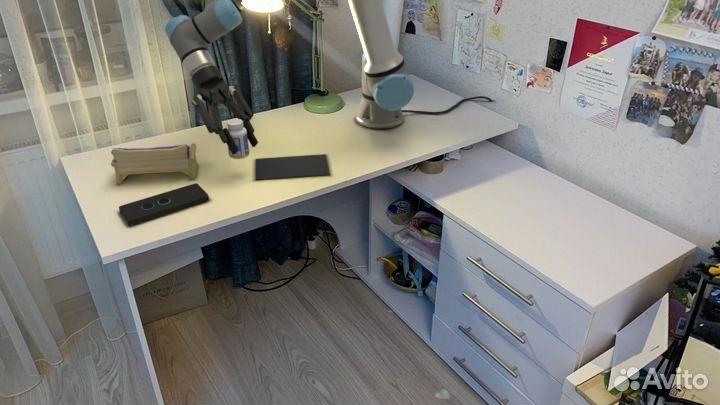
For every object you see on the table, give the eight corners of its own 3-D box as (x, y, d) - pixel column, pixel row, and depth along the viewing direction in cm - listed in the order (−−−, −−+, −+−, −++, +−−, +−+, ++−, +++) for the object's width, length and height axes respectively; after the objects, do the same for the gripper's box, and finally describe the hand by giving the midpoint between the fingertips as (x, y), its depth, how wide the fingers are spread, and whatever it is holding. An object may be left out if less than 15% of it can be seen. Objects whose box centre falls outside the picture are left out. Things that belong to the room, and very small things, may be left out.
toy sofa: (199, 164, 158) (194, 131, 153) (197, 179, 151) (191, 145, 146) (122, 169, 156) (113, 136, 150) (115, 185, 148) (106, 150, 143)
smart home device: (117, 205, 137) (196, 181, 147) (119, 211, 137) (197, 187, 147) (128, 221, 131) (209, 195, 141) (129, 227, 132) (210, 201, 142)
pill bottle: (243, 148, 154) (238, 115, 149) (253, 155, 150) (249, 122, 145) (225, 154, 151) (220, 121, 146) (235, 161, 147) (230, 127, 142)
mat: (325, 155, 163) (325, 154, 163) (330, 175, 153) (330, 174, 153) (255, 159, 161) (255, 158, 161) (255, 180, 151) (255, 179, 151)
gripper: (229, 71, 156) (269, 143, 155) (168, 88, 146) (210, 165, 144) (237, 56, 150) (279, 131, 149) (174, 73, 140) (218, 154, 138)
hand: (245, 148), depth 147 cm, fingers closed on pill bottle, 5 cm apart
